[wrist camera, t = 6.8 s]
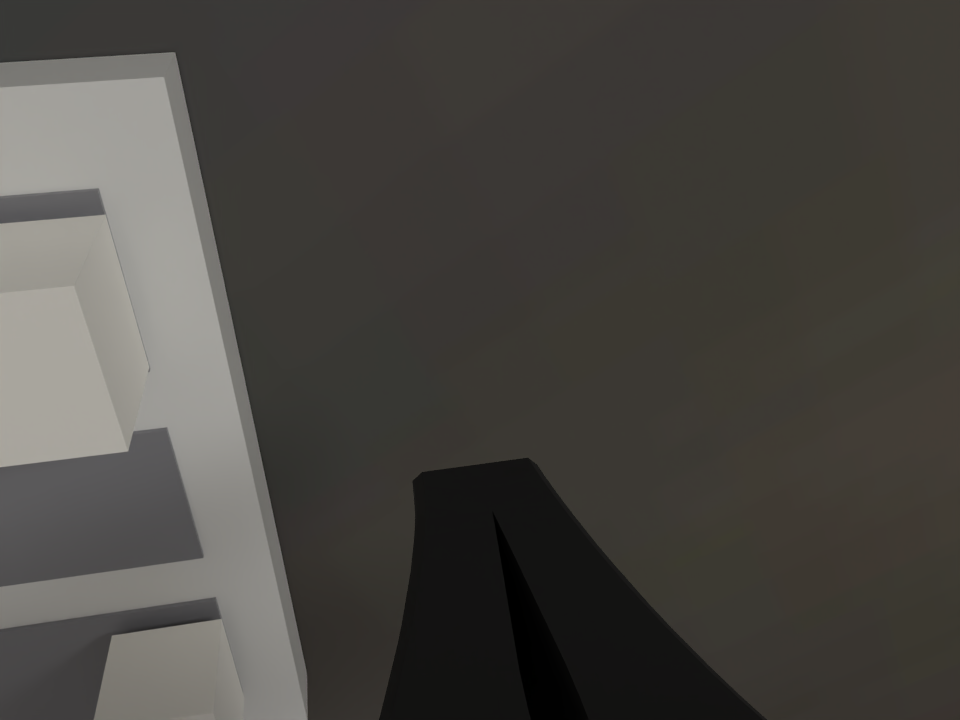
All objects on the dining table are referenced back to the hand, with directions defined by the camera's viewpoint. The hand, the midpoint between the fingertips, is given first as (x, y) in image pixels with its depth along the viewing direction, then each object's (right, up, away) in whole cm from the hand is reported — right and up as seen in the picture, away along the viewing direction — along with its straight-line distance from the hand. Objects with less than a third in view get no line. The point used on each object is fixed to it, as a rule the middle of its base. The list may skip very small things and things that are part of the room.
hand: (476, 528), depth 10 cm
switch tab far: (-7, -5, +10) cm, 13 cm away
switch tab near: (-7, +3, +4) cm, 9 cm away
